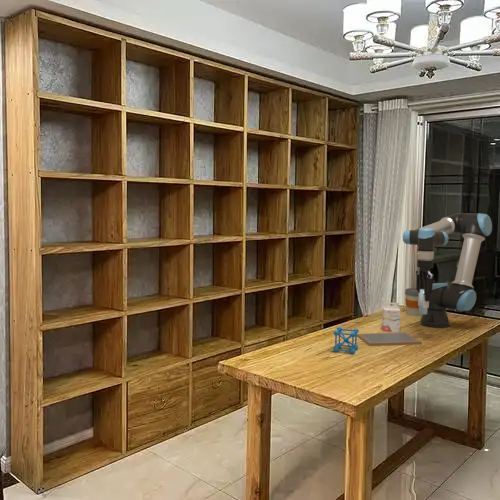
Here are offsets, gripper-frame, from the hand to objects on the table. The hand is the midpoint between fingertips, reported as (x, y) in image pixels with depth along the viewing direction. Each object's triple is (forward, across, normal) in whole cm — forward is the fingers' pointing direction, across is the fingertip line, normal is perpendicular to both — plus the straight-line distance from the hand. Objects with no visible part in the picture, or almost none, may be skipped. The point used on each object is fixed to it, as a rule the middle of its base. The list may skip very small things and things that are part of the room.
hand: (423, 306), depth 261 cm
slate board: (+17, -2, -17) cm, 24 cm away
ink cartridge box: (+17, -19, -8) cm, 27 cm away
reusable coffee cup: (+17, -54, +24) cm, 62 cm away
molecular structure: (+17, +13, -44) cm, 49 cm away
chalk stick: (+4, 0, 0) cm, 4 cm away
